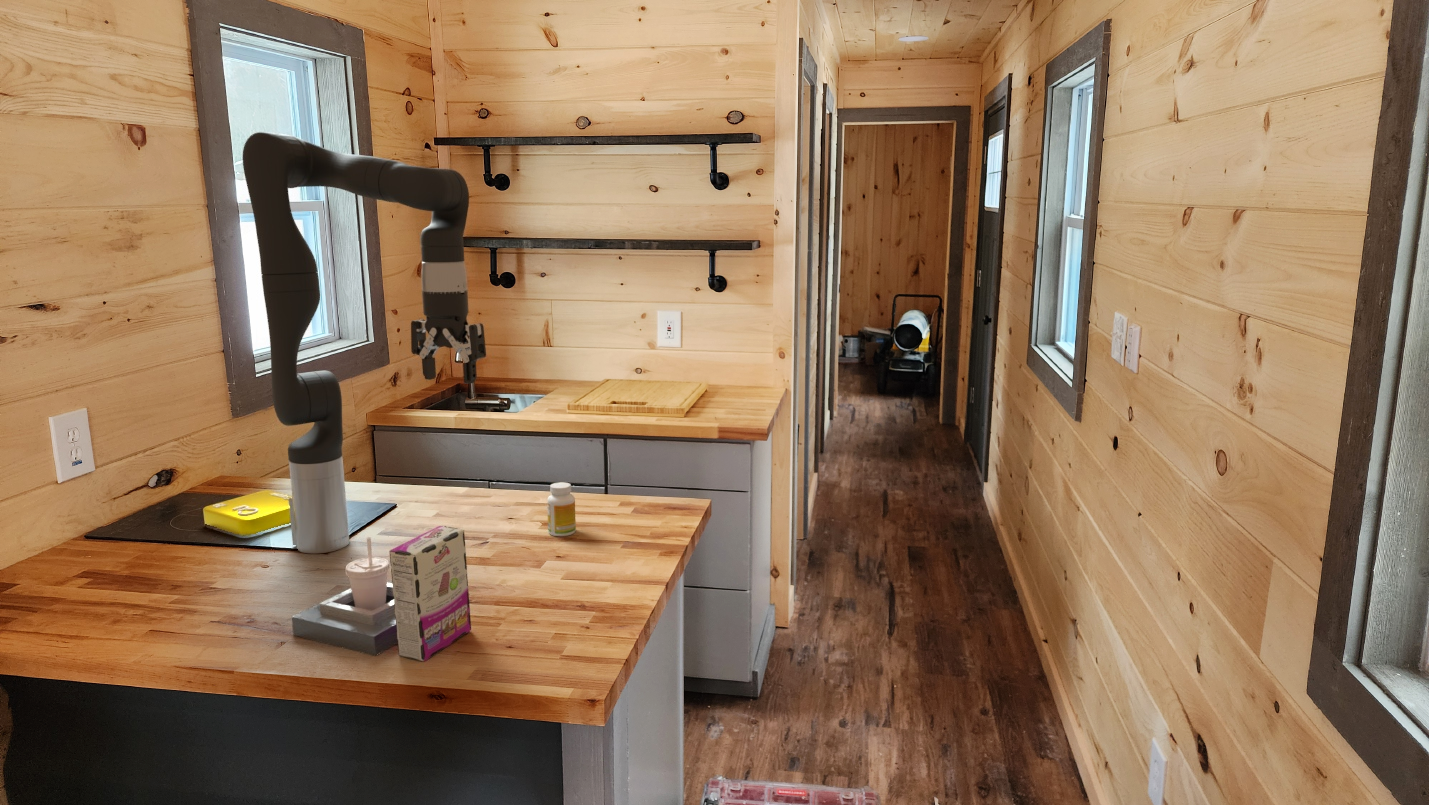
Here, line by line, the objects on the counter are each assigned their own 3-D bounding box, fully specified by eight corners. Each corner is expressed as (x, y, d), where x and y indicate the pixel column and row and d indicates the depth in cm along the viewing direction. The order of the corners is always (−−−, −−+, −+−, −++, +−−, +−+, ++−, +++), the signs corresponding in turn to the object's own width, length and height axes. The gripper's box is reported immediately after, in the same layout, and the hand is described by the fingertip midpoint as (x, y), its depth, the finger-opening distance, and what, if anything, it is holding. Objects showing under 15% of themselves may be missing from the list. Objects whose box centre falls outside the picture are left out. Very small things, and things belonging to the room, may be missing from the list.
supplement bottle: (581, 530, 187) (580, 483, 185) (563, 538, 182) (561, 490, 180) (560, 525, 190) (559, 479, 188) (542, 533, 185) (540, 486, 183)
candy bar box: (445, 625, 145) (439, 524, 142) (472, 631, 143) (466, 528, 140) (395, 656, 135) (387, 548, 132) (423, 663, 133) (416, 554, 130)
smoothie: (379, 634, 142) (372, 546, 139) (341, 630, 143) (333, 543, 140) (401, 616, 148) (395, 532, 145) (364, 612, 149) (358, 528, 147)
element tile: (314, 520, 194) (312, 498, 193) (245, 542, 181) (243, 518, 180) (269, 508, 201) (267, 486, 200) (200, 528, 189) (198, 505, 188)
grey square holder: (293, 635, 142) (290, 607, 141) (371, 595, 156) (369, 570, 155) (375, 655, 135) (373, 626, 134) (448, 612, 150) (447, 586, 149)
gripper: (396, 288, 161) (403, 381, 164) (464, 291, 155) (469, 388, 159) (426, 284, 168) (432, 374, 171) (492, 288, 162) (496, 380, 165)
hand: (449, 381), depth 165 cm, fingers open, 8 cm apart
